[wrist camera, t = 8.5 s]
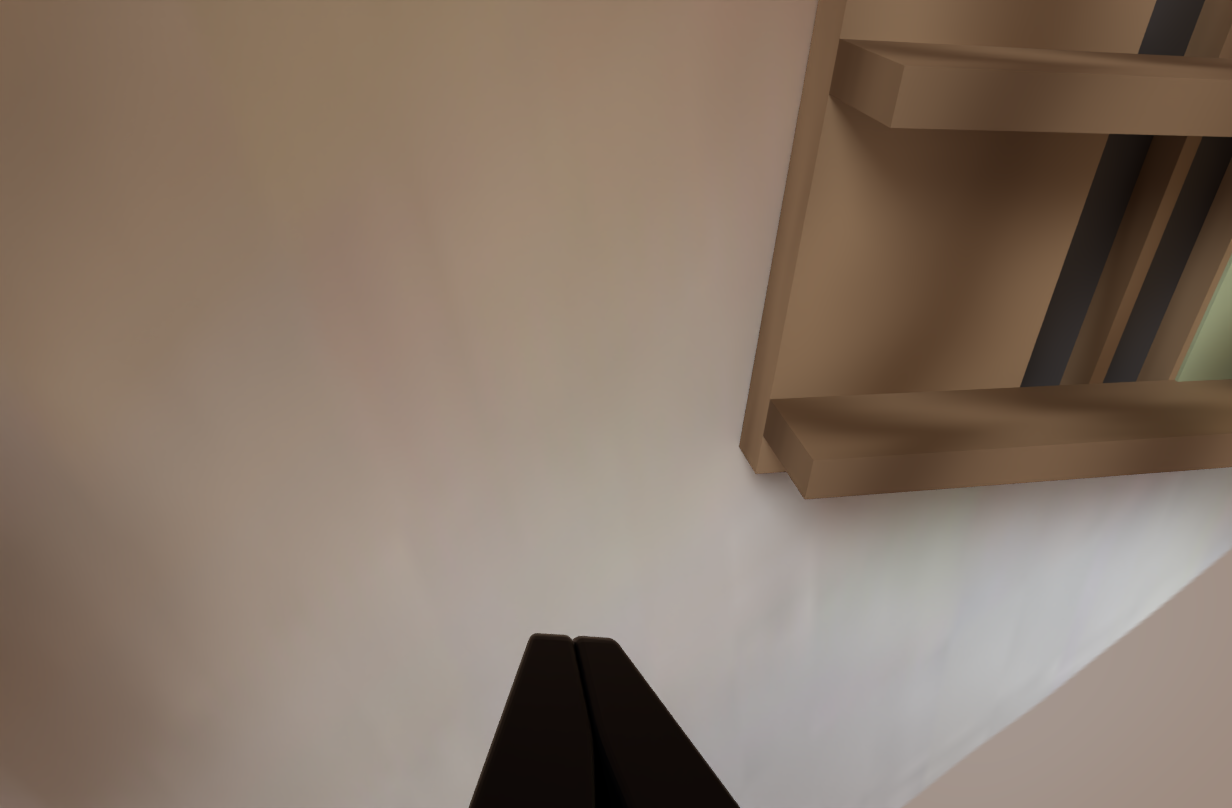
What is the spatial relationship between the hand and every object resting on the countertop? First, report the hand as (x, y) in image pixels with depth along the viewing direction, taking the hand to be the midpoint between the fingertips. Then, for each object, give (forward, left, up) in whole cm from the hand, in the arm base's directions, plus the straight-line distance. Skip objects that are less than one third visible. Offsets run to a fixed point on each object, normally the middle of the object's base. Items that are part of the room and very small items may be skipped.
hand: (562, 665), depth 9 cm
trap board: (+12, -10, -12) cm, 19 cm away
